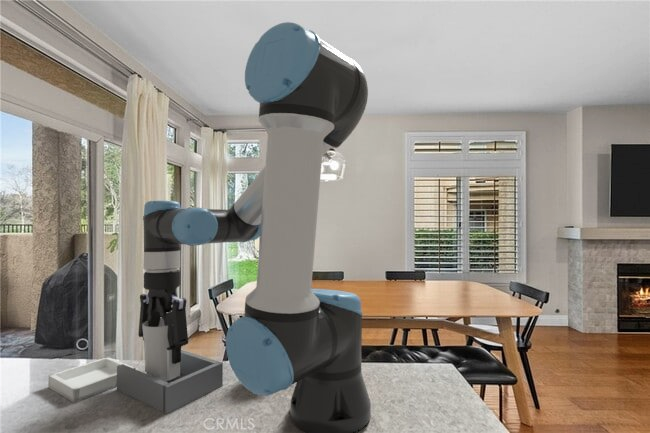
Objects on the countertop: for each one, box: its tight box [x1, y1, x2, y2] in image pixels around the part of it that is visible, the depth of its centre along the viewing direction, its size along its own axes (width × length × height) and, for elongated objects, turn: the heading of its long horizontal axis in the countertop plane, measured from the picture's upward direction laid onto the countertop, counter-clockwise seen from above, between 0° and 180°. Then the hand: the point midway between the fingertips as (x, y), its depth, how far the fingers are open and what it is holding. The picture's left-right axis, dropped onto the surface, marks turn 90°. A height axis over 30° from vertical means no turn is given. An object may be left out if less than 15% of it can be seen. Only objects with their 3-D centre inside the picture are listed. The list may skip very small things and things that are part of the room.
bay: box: [116, 349, 224, 415], centre depth 76 cm, size 18×13×5 cm
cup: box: [142, 318, 175, 382], centre depth 77 cm, size 8×8×12 cm
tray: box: [47, 356, 137, 404], centre depth 78 cm, size 12×12×3 cm
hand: (162, 373), depth 77 cm, fingers closed on cup, 7 cm apart
